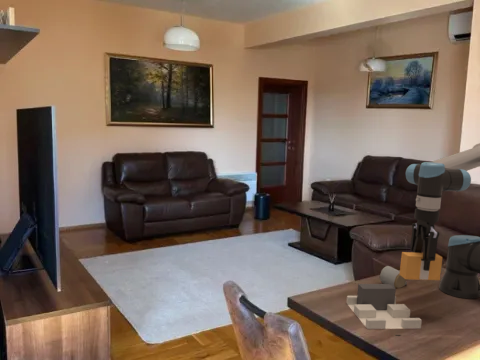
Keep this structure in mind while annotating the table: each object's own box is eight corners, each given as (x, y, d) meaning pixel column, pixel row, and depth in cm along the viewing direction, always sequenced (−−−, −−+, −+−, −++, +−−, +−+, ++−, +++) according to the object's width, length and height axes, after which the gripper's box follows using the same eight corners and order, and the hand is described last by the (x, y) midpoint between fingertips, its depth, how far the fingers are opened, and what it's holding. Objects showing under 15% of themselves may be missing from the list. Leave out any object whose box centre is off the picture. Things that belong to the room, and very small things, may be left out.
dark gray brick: (388, 304, 160) (390, 283, 159) (393, 310, 155) (395, 288, 154) (356, 305, 158) (358, 283, 157) (361, 310, 154) (362, 288, 153)
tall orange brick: (432, 275, 151) (435, 253, 150) (439, 280, 147) (442, 257, 146) (399, 274, 150) (401, 252, 149) (405, 279, 146) (408, 256, 145)
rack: (393, 305, 162) (394, 295, 161) (420, 331, 142) (421, 320, 142) (346, 305, 160) (346, 295, 160) (367, 331, 140) (368, 320, 140)
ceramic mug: (394, 291, 176) (396, 272, 175) (378, 284, 182) (380, 266, 182) (411, 287, 181) (413, 269, 180) (395, 280, 188) (397, 263, 187)
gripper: (404, 203, 154) (397, 267, 157) (430, 213, 136) (422, 285, 139) (424, 204, 154) (417, 268, 157) (453, 214, 137) (444, 286, 140)
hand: (419, 276), depth 148 cm, fingers closed on tall orange brick, 4 cm apart
